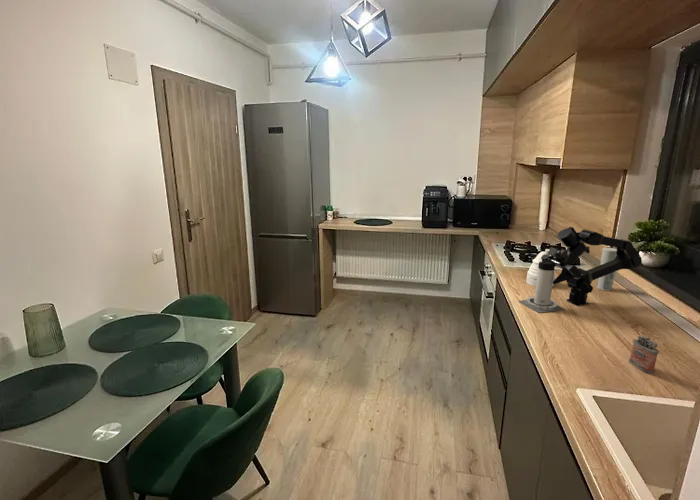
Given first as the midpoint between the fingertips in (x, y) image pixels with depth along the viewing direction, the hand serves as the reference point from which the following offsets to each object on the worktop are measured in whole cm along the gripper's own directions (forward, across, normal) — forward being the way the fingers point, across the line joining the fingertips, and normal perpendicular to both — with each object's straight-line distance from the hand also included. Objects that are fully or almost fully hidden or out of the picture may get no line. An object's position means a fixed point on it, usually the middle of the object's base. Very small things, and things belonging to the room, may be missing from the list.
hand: (546, 279), depth 163 cm
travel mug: (+9, 0, +8) cm, 12 cm away
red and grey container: (+10, +49, +7) cm, 51 cm away
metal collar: (+9, 0, +8) cm, 12 cm away
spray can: (-22, -12, +39) cm, 46 cm away
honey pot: (-4, -26, +21) cm, 34 cm away
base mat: (+9, 0, +8) cm, 12 cm away
